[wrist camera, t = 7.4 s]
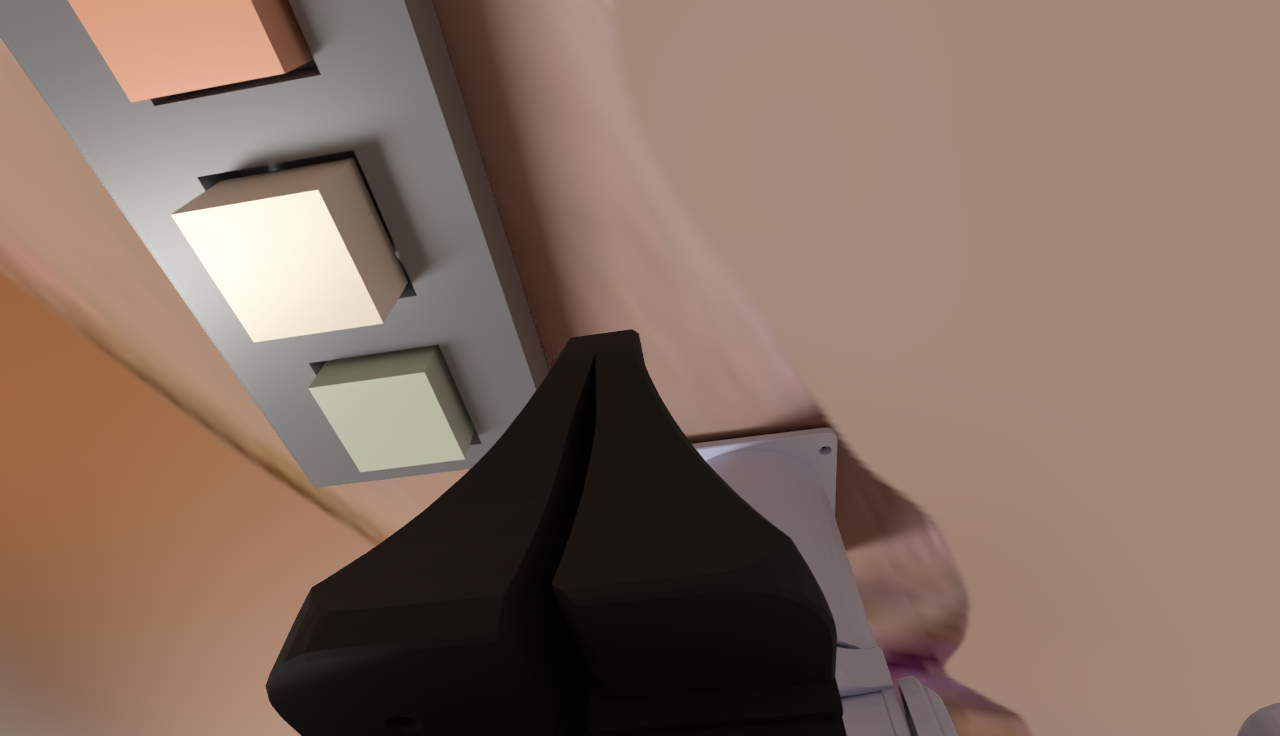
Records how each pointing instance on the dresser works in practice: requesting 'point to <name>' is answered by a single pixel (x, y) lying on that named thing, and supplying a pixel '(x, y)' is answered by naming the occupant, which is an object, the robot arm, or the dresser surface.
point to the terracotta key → (192, 42)
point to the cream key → (296, 250)
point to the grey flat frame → (301, 136)
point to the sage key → (395, 408)
